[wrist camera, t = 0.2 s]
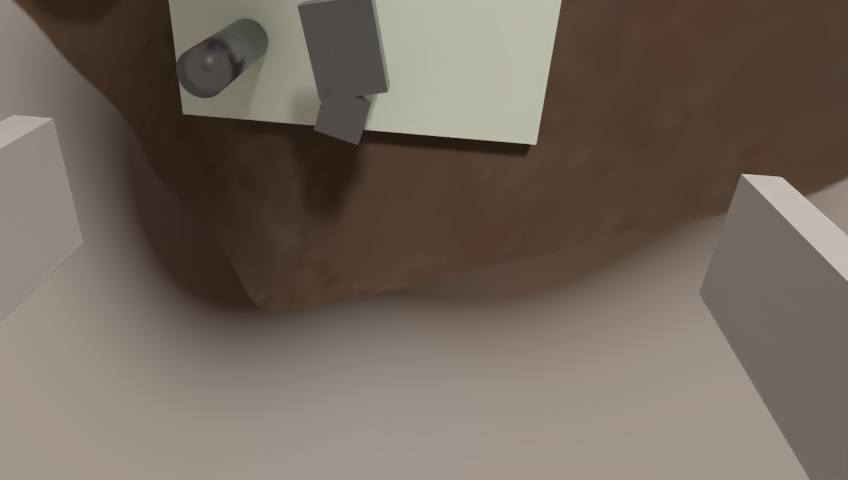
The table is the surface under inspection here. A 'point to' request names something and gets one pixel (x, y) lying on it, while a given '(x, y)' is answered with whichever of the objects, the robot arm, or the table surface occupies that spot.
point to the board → (395, 65)
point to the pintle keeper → (329, 55)
